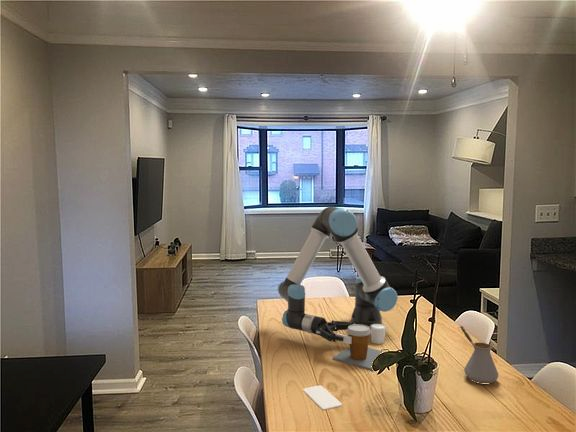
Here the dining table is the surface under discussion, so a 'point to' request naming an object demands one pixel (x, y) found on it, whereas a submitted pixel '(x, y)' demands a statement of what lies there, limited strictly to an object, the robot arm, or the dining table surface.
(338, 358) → the grey rubber mat
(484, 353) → the coffee pot
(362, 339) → the disposable coffee cup
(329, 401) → the smartphone
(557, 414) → the dining table surface
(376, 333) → the white candle
